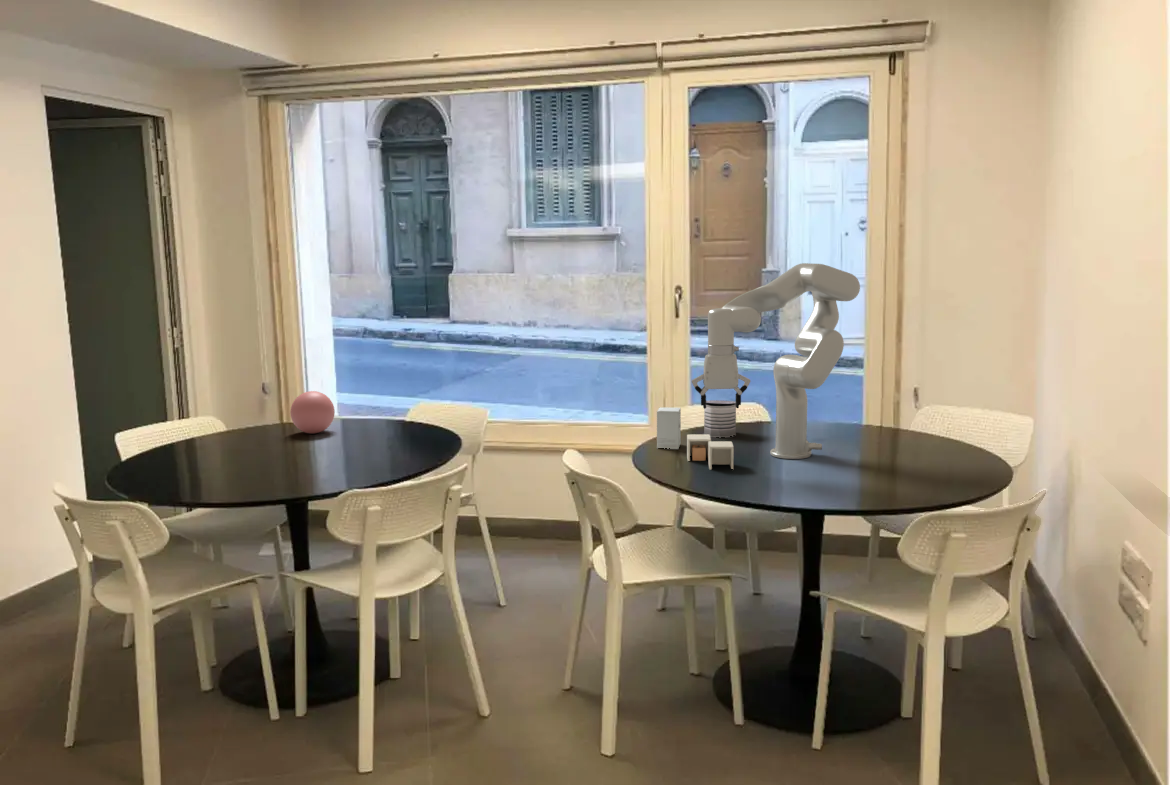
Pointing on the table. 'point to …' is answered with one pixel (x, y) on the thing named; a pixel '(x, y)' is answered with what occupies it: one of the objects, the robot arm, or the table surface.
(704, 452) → the letter cube
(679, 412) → the supplement box
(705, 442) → the large plain cream block
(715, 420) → the can
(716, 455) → the plain off-white cube
